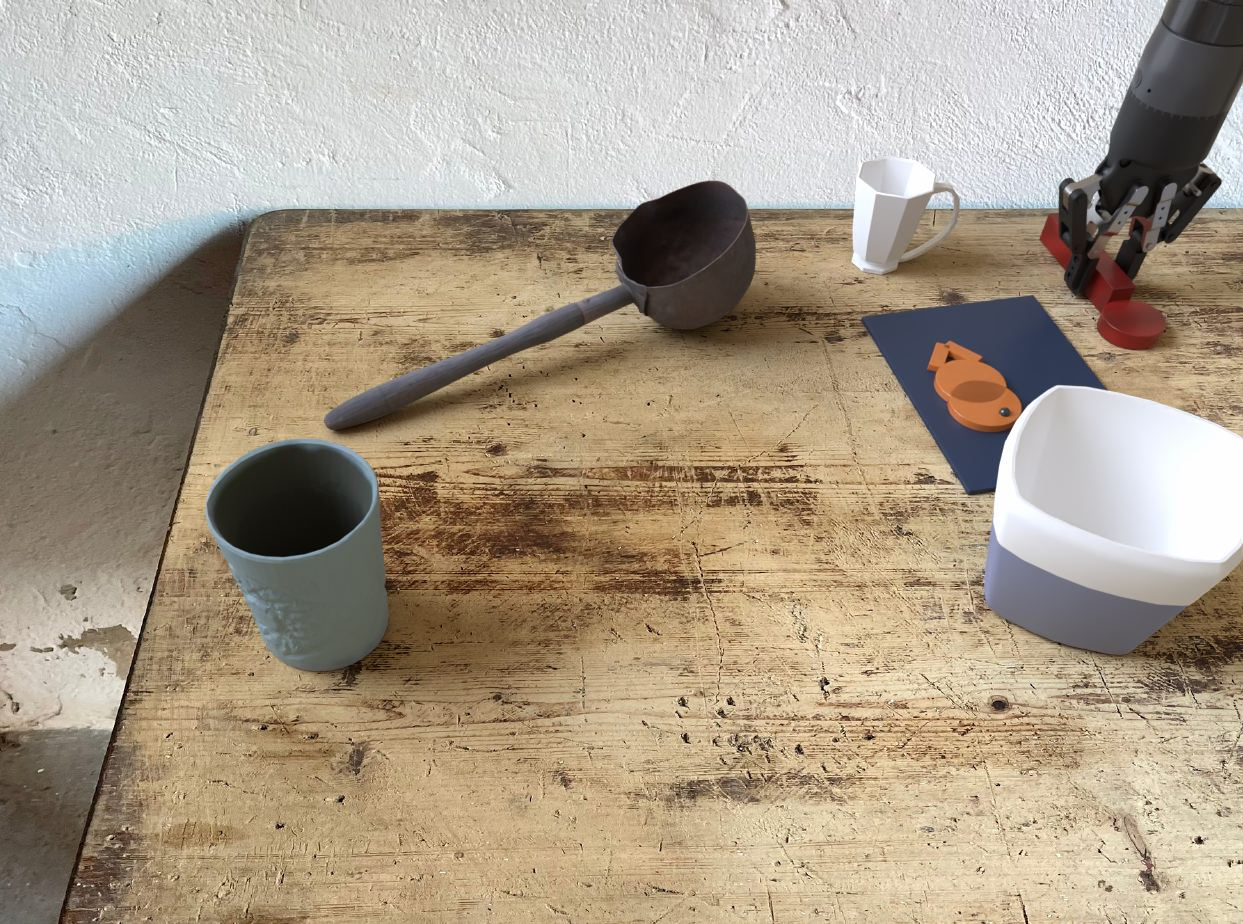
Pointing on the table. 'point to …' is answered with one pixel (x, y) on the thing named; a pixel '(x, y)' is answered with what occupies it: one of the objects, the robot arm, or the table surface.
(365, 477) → the blue green tumbler
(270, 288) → the table surface
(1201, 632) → the table surface
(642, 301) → the ladle
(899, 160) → the cup
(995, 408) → the fish
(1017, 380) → the towel
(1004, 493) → the bowl
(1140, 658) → the table surface
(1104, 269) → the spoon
